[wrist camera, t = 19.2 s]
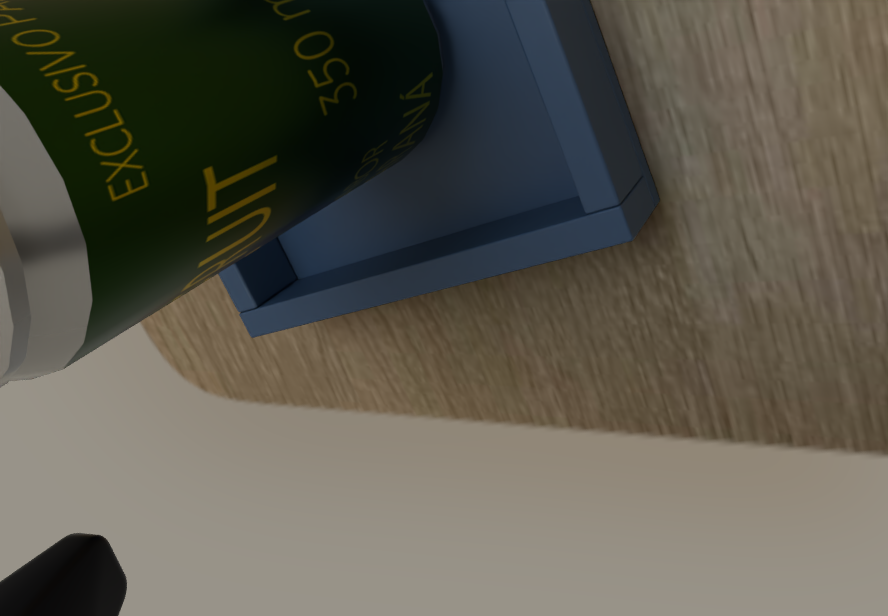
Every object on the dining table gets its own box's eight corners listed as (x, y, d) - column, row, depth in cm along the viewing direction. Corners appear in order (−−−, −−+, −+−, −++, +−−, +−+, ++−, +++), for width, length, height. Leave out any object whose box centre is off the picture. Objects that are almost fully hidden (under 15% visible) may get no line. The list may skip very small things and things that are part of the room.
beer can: (237, 66, 22) (-276, 229, 12) (324, -118, 18) (-286, -92, 9) (384, 204, 21) (-16, 477, 12) (500, 43, 18) (72, 245, 9)
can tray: (661, 200, 19) (633, 241, 17) (301, 300, 25) (251, 338, 23) (464, -355, 15) (402, -386, 13) (111, -77, 22) (34, -71, 20)
